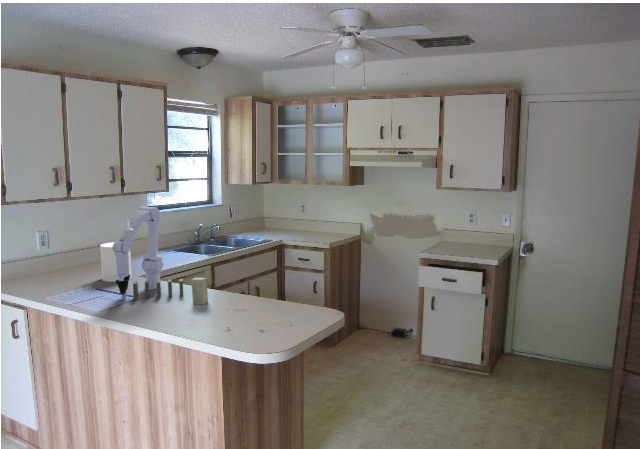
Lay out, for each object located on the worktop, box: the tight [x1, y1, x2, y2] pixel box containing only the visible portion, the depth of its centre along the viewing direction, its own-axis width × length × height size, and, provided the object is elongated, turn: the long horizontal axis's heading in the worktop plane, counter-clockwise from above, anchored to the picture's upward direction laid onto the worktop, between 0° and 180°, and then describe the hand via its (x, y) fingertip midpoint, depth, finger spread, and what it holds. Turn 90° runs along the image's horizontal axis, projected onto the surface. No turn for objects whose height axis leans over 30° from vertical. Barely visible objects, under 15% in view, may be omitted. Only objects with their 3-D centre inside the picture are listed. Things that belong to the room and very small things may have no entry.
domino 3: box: [144, 280, 151, 300], centre depth 250 cm, size 5×2×8 cm, turn 14°
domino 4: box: [156, 279, 162, 299], centre depth 251 cm, size 5×2×8 cm, turn 14°
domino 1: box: [121, 291, 128, 301], centre depth 247 cm, size 5×2×8 cm, turn 15°
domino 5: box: [167, 279, 173, 298], centre depth 253 cm, size 5×2×8 cm, turn 14°
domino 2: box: [132, 280, 139, 301], centre depth 249 cm, size 5×2×8 cm, turn 14°
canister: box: [99, 241, 133, 283], centre depth 287 cm, size 16×16×20 cm
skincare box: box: [191, 277, 209, 305], centre depth 241 cm, size 6×4×12 cm
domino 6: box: [178, 278, 184, 298], centre depth 254 cm, size 5×2×8 cm, turn 14°
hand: (124, 291), depth 248 cm, fingers open, 7 cm apart
